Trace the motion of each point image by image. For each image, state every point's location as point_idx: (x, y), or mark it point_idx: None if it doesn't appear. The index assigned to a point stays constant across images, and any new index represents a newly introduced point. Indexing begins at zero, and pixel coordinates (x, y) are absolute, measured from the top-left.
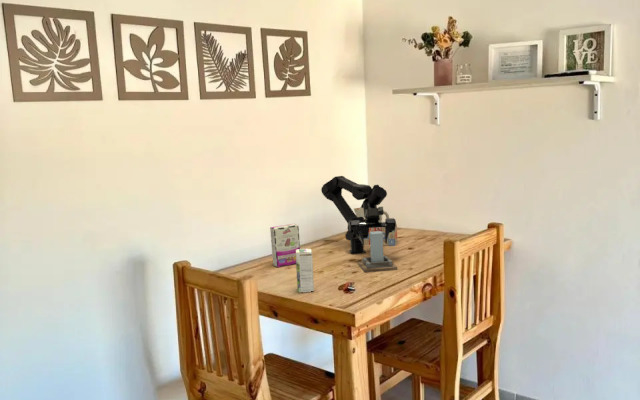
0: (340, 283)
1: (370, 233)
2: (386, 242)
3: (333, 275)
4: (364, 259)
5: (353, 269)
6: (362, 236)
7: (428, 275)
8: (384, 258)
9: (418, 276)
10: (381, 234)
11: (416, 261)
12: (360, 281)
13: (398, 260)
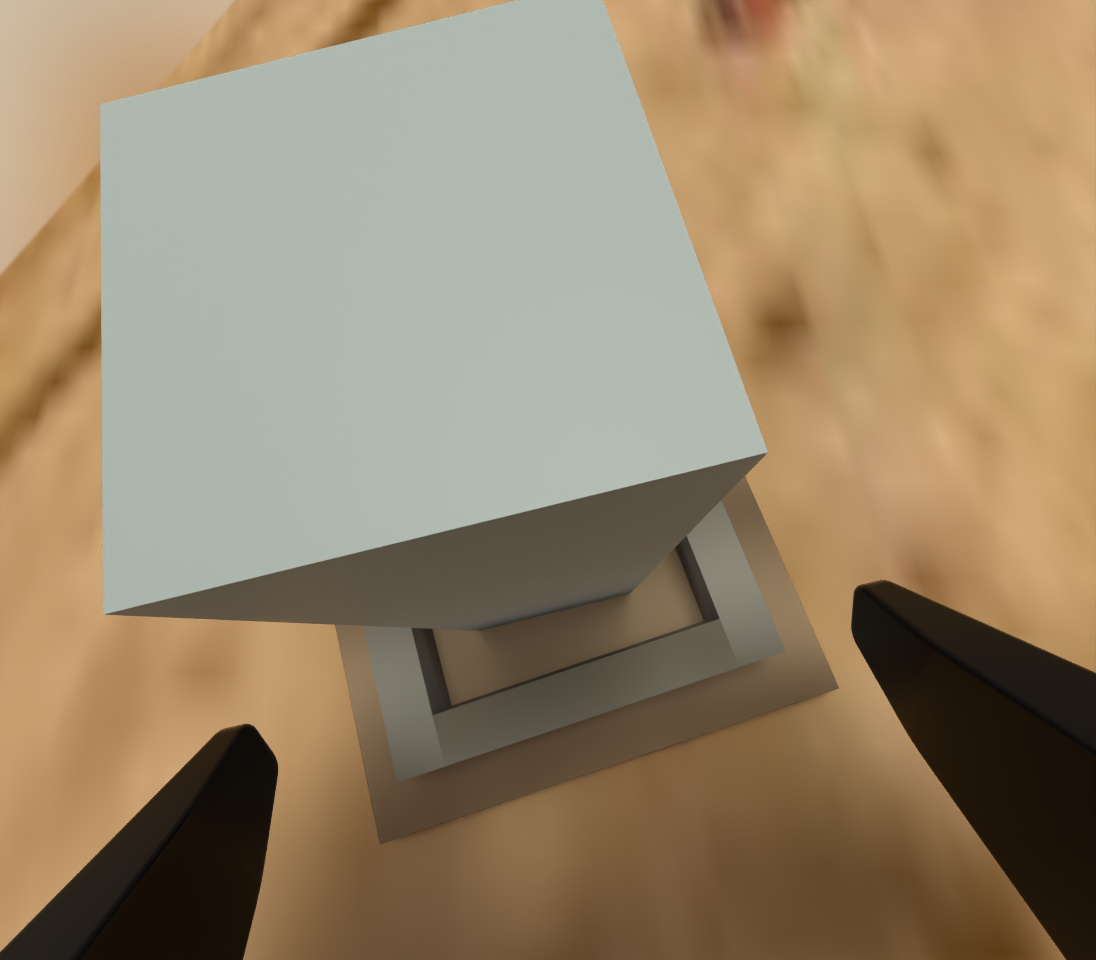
0: (823, 3)
1: (662, 195)
2: (244, 745)
3: (984, 206)
4: (725, 532)
5: (822, 432)
6: (1067, 722)
7: (42, 254)
8: (432, 686)
9: None
10: (184, 128)
11: (30, 824)
12: (652, 62)
13: (260, 899)
